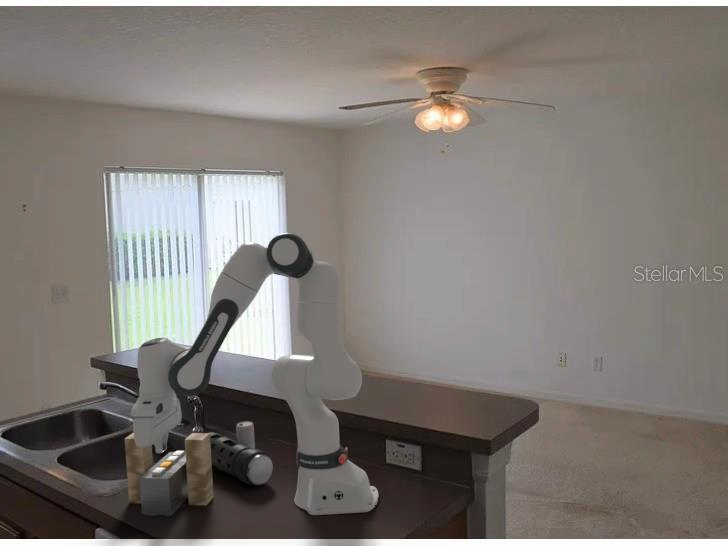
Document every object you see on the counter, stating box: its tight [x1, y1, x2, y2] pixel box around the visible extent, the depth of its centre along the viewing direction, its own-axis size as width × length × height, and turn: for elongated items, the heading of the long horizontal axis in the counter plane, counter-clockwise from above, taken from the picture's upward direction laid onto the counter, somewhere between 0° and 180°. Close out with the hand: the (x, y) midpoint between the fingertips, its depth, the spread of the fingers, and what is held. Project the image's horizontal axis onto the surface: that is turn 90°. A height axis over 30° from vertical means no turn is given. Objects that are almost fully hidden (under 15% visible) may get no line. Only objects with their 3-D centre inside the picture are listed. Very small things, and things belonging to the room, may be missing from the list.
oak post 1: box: [124, 432, 154, 502], centre depth 175 cm, size 5×5×18 cm
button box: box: [139, 450, 188, 517], centre depth 175 cm, size 8×18×11 cm, turn 172°
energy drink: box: [235, 420, 256, 449], centre depth 200 cm, size 5×5×12 cm
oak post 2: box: [184, 432, 214, 506], centre depth 173 cm, size 5×5×18 cm
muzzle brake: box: [209, 431, 274, 486], centre depth 190 cm, size 10×28×10 cm, turn 44°
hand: (161, 451), depth 170 cm, fingers closed
